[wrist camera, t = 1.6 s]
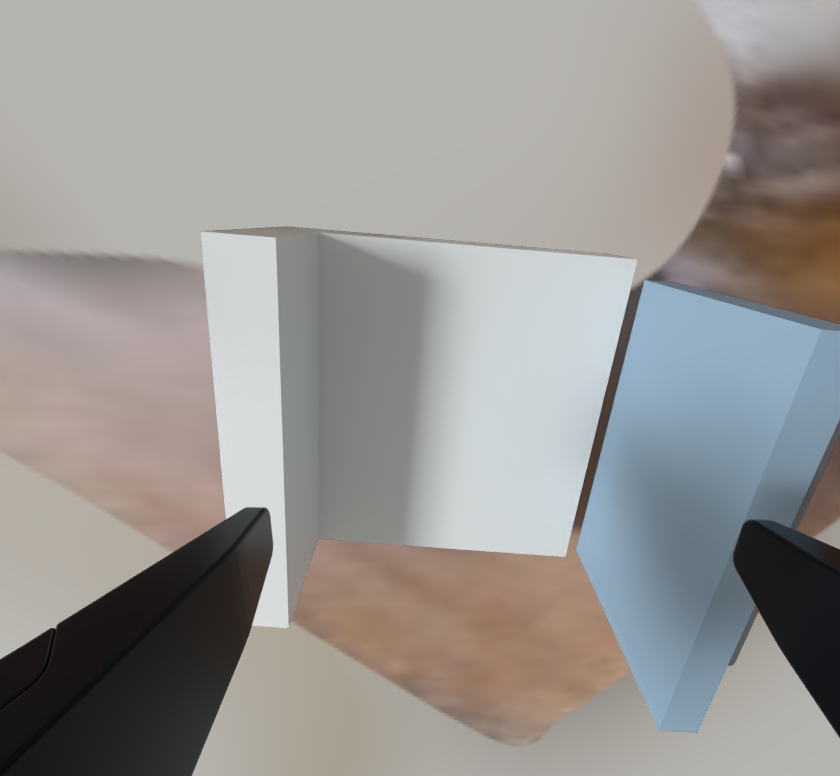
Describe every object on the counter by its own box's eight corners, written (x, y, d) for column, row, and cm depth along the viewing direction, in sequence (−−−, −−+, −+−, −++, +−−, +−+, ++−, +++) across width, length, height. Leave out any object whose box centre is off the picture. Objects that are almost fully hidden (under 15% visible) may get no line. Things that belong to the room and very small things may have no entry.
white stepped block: (607, 253, 20) (720, 274, 12) (549, 518, 25) (603, 649, 17) (287, 226, 19) (200, 231, 12) (293, 499, 24) (235, 624, 17)
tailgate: (702, 284, 17) (925, 338, 9) (621, 553, 21) (729, 735, 14) (644, 279, 17) (822, 329, 9) (576, 549, 21) (658, 730, 14)
